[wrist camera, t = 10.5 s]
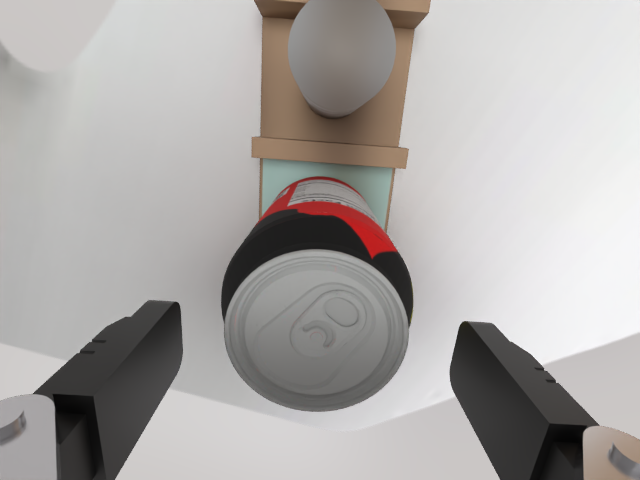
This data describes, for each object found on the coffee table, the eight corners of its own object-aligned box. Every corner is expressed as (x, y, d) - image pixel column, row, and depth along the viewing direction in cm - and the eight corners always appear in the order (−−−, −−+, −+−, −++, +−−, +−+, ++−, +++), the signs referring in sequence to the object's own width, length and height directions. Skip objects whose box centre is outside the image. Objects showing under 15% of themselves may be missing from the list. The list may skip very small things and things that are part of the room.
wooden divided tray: (261, 283, 24) (224, 375, 15) (267, 5, 19) (215, -117, 10) (373, 291, 24) (404, 387, 15) (410, 16, 19) (492, -93, 10)
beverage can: (247, 228, 21) (156, 344, 9) (316, 151, 19) (307, 175, 8) (322, 291, 22) (322, 460, 11) (391, 222, 21) (479, 333, 9)
